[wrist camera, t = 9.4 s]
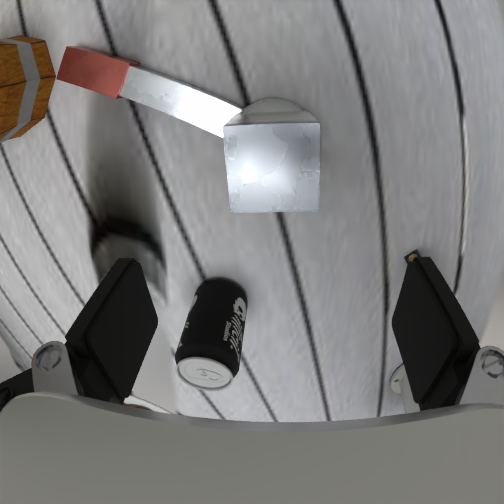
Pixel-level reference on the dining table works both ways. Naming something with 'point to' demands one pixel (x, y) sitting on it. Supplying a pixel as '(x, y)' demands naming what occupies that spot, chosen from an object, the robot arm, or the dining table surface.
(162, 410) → the plated food
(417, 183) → the dining table surface
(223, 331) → the beverage can
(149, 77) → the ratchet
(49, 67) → the mug
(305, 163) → the brushed metal block
